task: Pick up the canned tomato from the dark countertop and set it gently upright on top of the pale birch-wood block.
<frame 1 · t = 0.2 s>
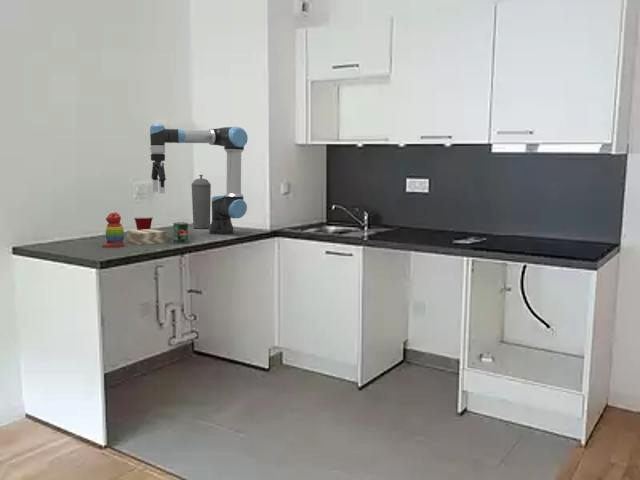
hand: (158, 192, 340), 27 cm above the worktop, fingers open, 13 cm apart
stacking bear: (114, 246, 327), on the worktop
base block: (146, 241, 343), on the worktop
plastic cup: (143, 237, 362), on the worktop
canister: (201, 228, 408), on the worktop
canned tomato: (180, 243, 343), on the worktop
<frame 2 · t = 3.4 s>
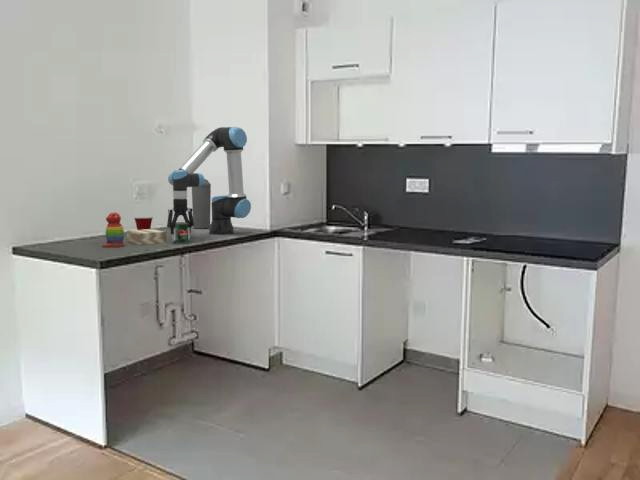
hand: (180, 239, 342), 2 cm above the worktop, fingers closed on canned tomato, 8 cm apart
canned tomato: (180, 243, 343), on the worktop, touching gripper
everything else where it was.
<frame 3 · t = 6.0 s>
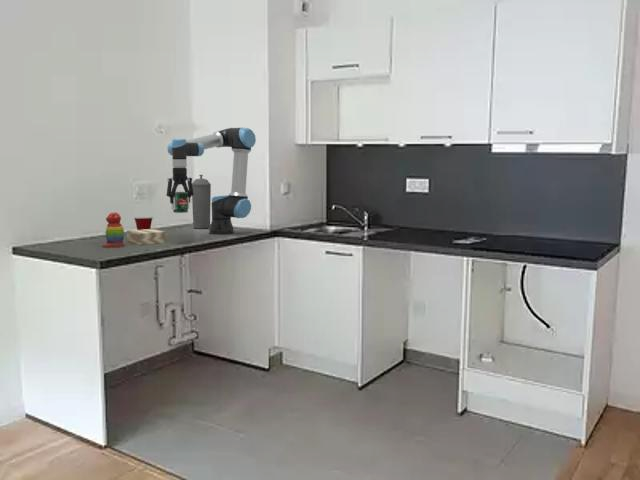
hand: (180, 209, 340), 19 cm above the worktop, fingers closed on canned tomato, 8 cm apart
canned tomato: (180, 212, 340), point 17 cm above the worktop, touching gripper
everything else where it was.
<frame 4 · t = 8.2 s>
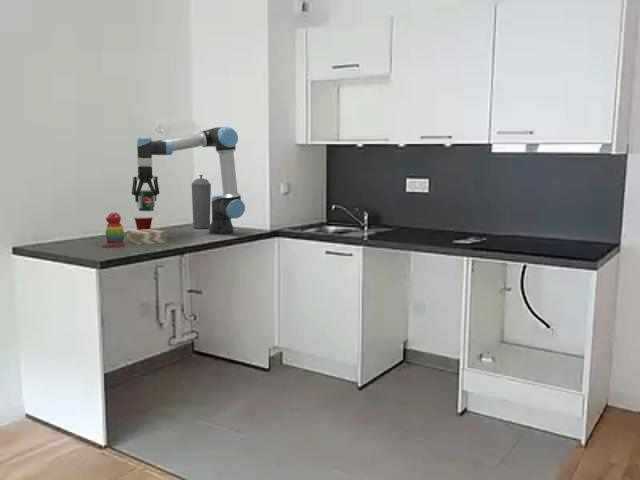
hand: (146, 207, 341), 19 cm above the worktop, fingers closed on canned tomato, 8 cm apart
canned tomato: (146, 211, 341), point 17 cm above the worktop, touching gripper
everything else where it was.
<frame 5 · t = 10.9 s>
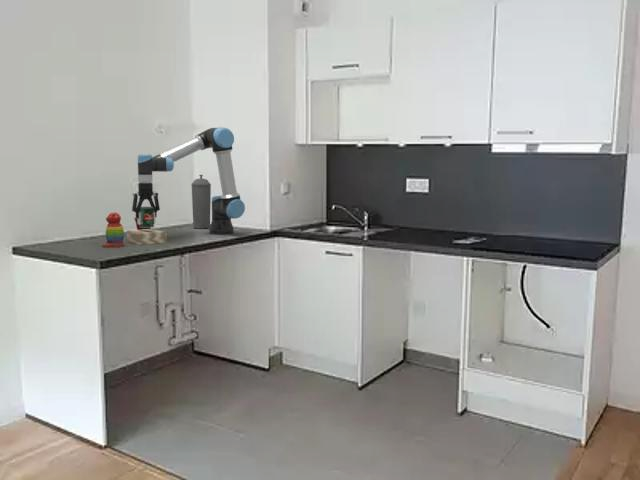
hand: (146, 223, 342), 10 cm above the worktop, fingers closed on canned tomato, 8 cm apart
canned tomato: (146, 227, 342), point 8 cm above the worktop, touching gripper
everything else where it was.
when the fingers open (9 cm above the worktop, at t = 13.2 s): canned tomato drops 1 cm, resting on base block.
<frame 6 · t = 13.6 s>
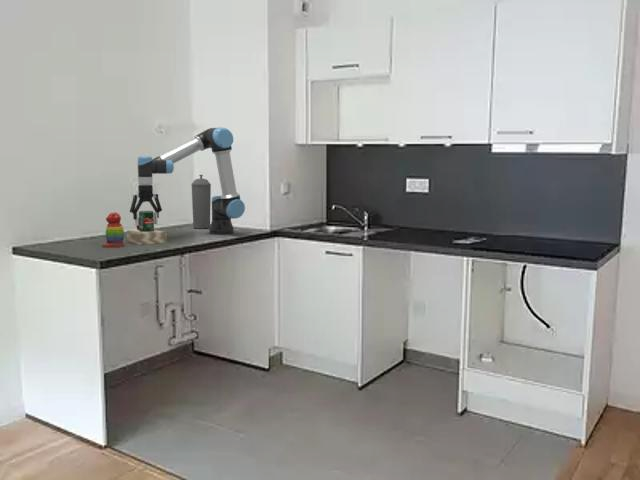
hand: (146, 224, 342), 10 cm above the worktop, fingers open, 10 cm apart
canned tomato: (146, 231, 343), point 6 cm above the worktop, touching base block
everything else where it was.
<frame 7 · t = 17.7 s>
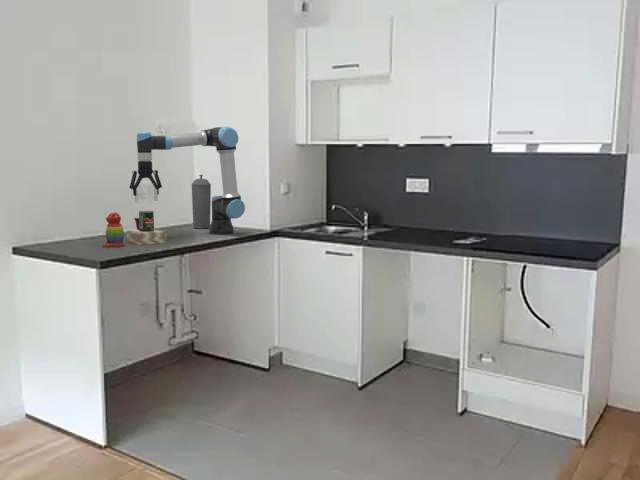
hand: (146, 201, 340), 23 cm above the worktop, fingers open, 10 cm apart
nothing on the worktop moved.
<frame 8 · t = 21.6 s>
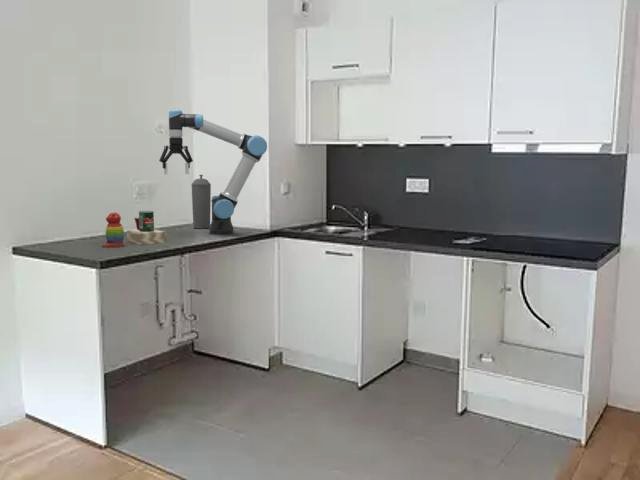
hand: (176, 174, 361), 37 cm above the worktop, fingers open, 13 cm apart
nothing on the worktop moved.
at the end: canned tomato inside the target area on the base block (0.1 cm from its centre), point 5.8 cm above the base block's base; canned tomato tilted 0°; the gripper is holding nothing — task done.
